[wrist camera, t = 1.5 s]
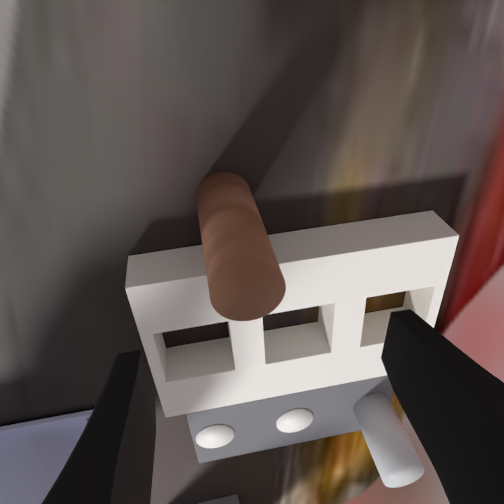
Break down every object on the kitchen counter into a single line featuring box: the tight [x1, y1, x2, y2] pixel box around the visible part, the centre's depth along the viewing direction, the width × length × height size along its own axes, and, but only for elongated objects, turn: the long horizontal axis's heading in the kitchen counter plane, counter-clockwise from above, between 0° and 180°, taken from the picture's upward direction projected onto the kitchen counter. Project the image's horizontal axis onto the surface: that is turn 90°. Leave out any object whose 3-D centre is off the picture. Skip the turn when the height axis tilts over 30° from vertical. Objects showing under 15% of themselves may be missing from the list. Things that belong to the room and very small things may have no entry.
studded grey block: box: [186, 375, 424, 488], centre depth 27 cm, size 14×6×6 cm, turn 94°
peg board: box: [125, 210, 459, 418], centre depth 23 cm, size 16×10×2 cm, turn 94°
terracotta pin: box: [196, 171, 286, 321], centre depth 17 cm, size 3×3×7 cm
